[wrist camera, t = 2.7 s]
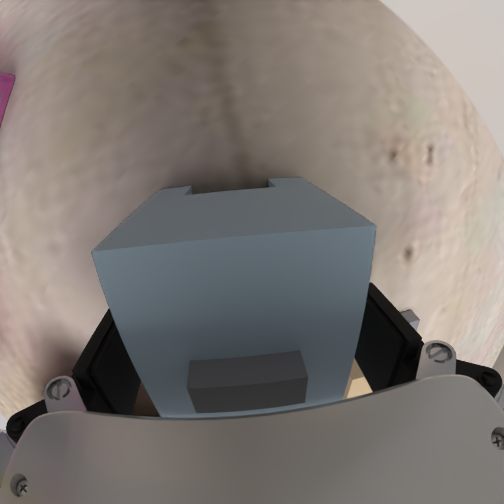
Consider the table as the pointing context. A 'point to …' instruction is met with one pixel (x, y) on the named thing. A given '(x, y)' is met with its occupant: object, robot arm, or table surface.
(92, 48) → the table surface
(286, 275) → the light blue block
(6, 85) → the gum box
